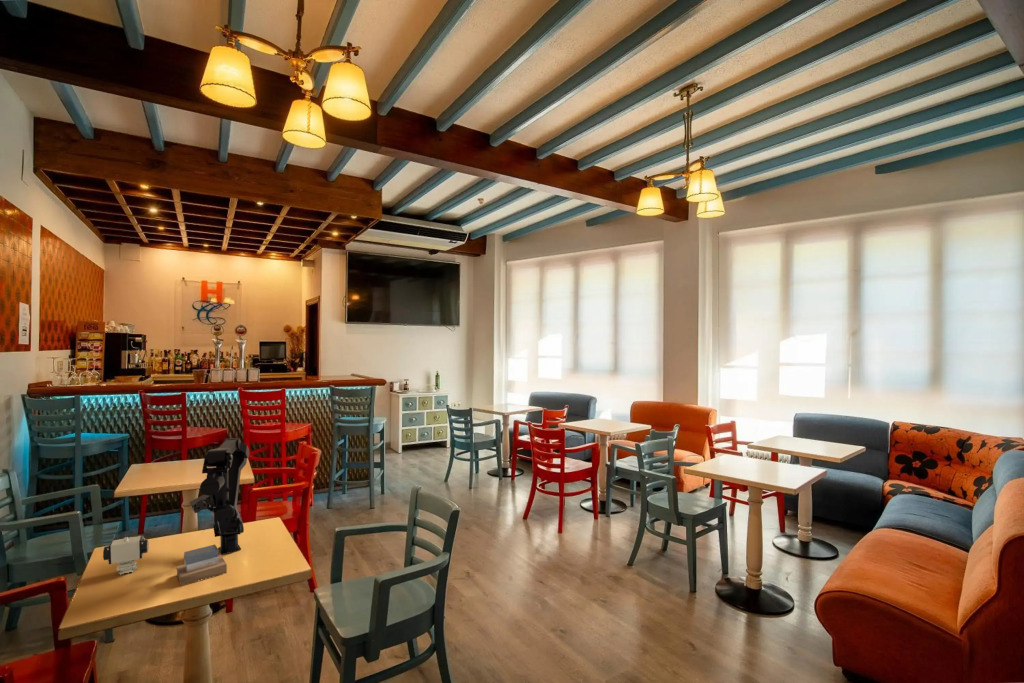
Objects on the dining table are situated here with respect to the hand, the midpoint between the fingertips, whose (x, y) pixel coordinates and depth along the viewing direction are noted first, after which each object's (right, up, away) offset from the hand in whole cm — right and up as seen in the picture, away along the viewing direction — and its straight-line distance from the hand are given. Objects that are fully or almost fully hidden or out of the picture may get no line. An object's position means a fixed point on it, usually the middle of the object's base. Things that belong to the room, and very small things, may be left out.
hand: (219, 529), depth 174 cm
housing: (-3, -10, -6) cm, 12 cm away
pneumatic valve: (-29, -13, -4) cm, 32 cm away
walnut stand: (-3, -13, -6) cm, 14 cm away
